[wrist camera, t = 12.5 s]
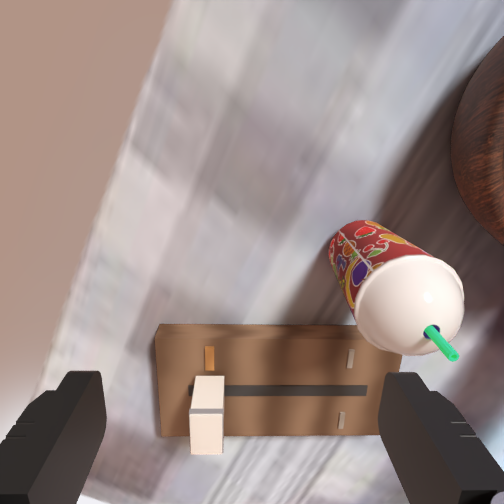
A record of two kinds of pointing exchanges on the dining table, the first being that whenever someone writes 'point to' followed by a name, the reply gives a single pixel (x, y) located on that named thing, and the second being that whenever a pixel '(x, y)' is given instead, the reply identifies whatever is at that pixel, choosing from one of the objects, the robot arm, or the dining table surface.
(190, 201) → the dining table surface
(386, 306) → the smoothie
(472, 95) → the wooden bowl
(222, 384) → the fader tab
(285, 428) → the brown flat wooden board
